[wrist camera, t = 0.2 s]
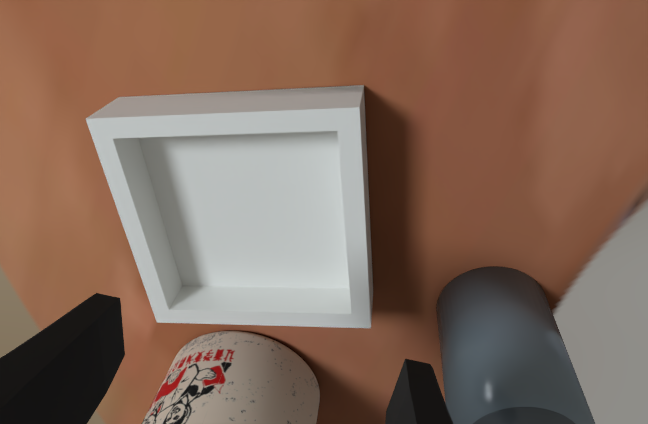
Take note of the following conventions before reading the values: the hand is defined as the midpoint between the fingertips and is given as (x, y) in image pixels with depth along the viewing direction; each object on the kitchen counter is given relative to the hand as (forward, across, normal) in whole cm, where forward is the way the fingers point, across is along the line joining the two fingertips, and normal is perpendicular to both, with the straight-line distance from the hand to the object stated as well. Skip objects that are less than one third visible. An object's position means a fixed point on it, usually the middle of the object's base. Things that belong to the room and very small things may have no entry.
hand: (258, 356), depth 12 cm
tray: (+10, +2, +2) cm, 10 cm away
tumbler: (+10, -9, +5) cm, 15 cm away
